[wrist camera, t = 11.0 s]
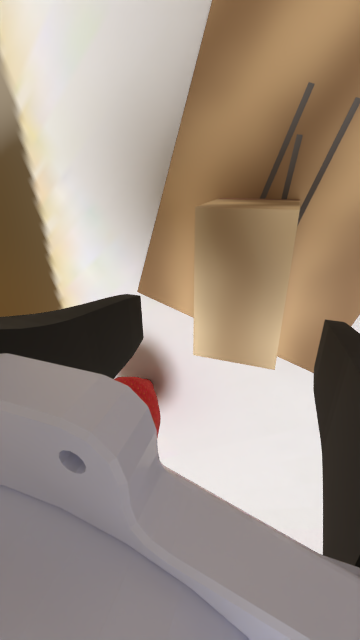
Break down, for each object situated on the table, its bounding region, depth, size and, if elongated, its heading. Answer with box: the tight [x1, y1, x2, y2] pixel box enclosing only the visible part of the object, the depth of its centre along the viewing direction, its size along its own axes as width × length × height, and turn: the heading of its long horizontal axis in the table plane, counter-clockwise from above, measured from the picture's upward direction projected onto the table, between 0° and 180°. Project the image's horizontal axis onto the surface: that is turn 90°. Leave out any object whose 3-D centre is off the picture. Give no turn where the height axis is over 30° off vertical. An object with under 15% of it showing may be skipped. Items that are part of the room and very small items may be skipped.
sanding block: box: [193, 198, 300, 370], centre depth 17 cm, size 4×8×5 cm, turn 0°
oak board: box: [137, 0, 360, 373], centre depth 17 cm, size 14×22×1 cm, turn 162°
